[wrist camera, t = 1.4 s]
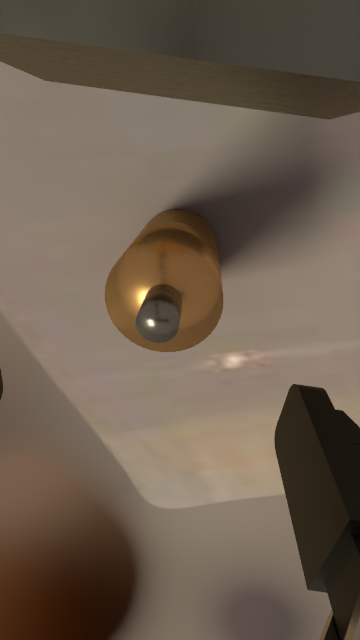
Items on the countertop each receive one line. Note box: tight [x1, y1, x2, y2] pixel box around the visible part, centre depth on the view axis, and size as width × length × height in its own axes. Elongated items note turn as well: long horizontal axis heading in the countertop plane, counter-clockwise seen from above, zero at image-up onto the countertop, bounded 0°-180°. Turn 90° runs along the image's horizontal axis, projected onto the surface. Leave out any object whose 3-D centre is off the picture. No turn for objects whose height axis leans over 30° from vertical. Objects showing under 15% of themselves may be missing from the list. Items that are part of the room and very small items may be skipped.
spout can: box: [105, 209, 223, 352], centre depth 16 cm, size 5×5×10 cm
